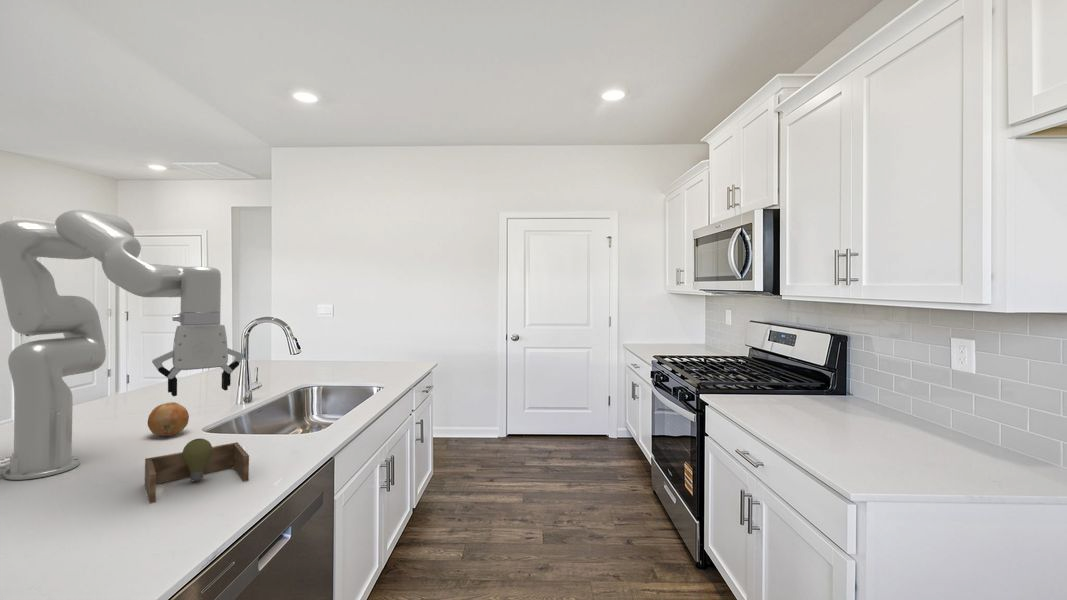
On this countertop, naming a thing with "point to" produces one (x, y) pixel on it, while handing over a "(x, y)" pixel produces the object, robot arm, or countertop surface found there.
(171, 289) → the robot arm
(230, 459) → the brown legged wooden frame
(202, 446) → the light bulb
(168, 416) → the onion
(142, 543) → the countertop surface
